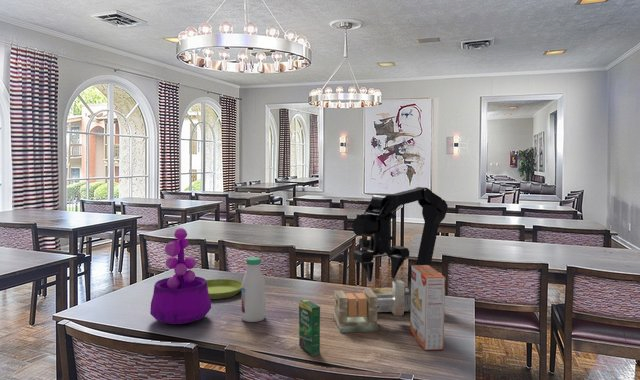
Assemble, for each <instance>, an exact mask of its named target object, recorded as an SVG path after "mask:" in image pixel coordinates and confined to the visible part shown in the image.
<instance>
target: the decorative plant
mask: <svg viewBox="0 0 640 380" xmlns="http://www.w3.org/2000/svg"><path fill="white" fill-rule="evenodd" d="M187 236H188V233H187V230H186V229H185V228H182V227H179V228H177V229H176V230H175V231H174V237H175V239H176V240H177V241H175V240H174V241H173V240H171V241H169V242H168V243H166V245H165V246H164V252H165V254H166V255H167V256H168V258H167V259H166V261H165V266H166V267H167V268H168V269H169V270H170V269H171V270H172V269H174V274H173V276H170V277H165V278H162V279H159V280H158V281H156V282H155V283H154V285H153V295H152V298H151V301H150V310H149V311H150V312H149V313H150V315H151V316H152V317H153V319H155V320H156V321H158V322H160V323H164V324H169V325H185V324H189V323H193V322H195V321H198V320H201V319H202V318H204V317H206V315H207V314H208V313H209V312H210V310H211V309H212V299H210V296H209V293H208V287H207V281H206V280H207V279H205V278H204V277H200V276H196V274H195V271H193V270H192V269H194V268H195V266H197V260H196V259H195V258H194V257H192V256H189V257H185V250H184V249H186V248H188V246H189V240H187V239H186V238H187ZM169 256H170V257H169Z"/></svg>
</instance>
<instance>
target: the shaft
mask: <svg viewBox="0 0 640 380" xmlns="http://www.w3.org/2000/svg"><path fill="white" fill-rule="evenodd" d="M391 285H392V286H391V287H392V298H378V299H377V306H392V312H391V313H392V314H393V315H394V316H404V315H405V314H404V313H405V311H404V287H405V282H404V281H403V280H400V279H398V280H397V279H396V280H392V284H391ZM347 307H348V303H347ZM356 307H358V301H357V302H356Z"/></svg>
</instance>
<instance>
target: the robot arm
mask: <svg viewBox="0 0 640 380" xmlns="http://www.w3.org/2000/svg"><path fill="white" fill-rule="evenodd" d="M413 202H414V203H415V202H417V203H418V205H419V206H420V207H421V209H422V210H421V215H422V218H423V221H424V224H423V229H422V234H421V238H420V244H419V248H418V253H417V259H416V261H415V262H414V264H413V265H429V266H430V267H432V268H433V266H432V261H433V256H434V255H433V254H434V250H435V245H436V239H437V235H438V232H439V231H438V230H439V225H440V224H441V223H442V222H443V221H444V219H445V218H446V215H447V211H448V209H449V208H448V204H447V202H446V200H445V199H443V198H442V197H441V196H439V195H437V194H436V193H435V192H433V191H432V190H431V189H430V188H428V187H421V186H417V187H415V188H412V189H411V188H410V189H407V190H404V191H400V192H396V193H395V192H394V193H375V194H373V195H372V197H371V198H370V201H369V203H368V205H367V207H366V208H365V211H364V212H363V213H357V214H356V217H355V218H354V219H353V221H352V224H351V227H352V231H353V233H354V234H355V235H356V236H358V237H359V236H366V235H370V239H367V238H366V237H362V238H359V239H358V246H359V248H360V249H358V250H355V251H354V253H352V254H353V257H352V258H353V260H355V261H357V262H358V263H360V264H361V265H362V267H363V270H364V271H365V275H366V278H367V281H368V282H372V279H373V274H374V273H373V271H374V261H373V260H374V258H383V257H389V258H390V261H391V263H390V264H391V265H390V269H391V270H390V275H391V276H390V277H391V279H395V278H396V275H397V273H398V271H399V270H400V268H401V266H402V265H403V263H404V261H405V260H407V258H410V250H409V249H408V247H404V246H401V245H395V246H391V245H392V241H393V240H394V236H392V219H396V218H397V215H395V214H394V213H393V211H396V210H397V209H398V208H399V207H400V206H403V205H406V204H410V203H413ZM413 265H412V264H410V265H409V267H408V272H407V275H406V276H407V282H408V283H409V287H410V288H411V266H413Z"/></svg>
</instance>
